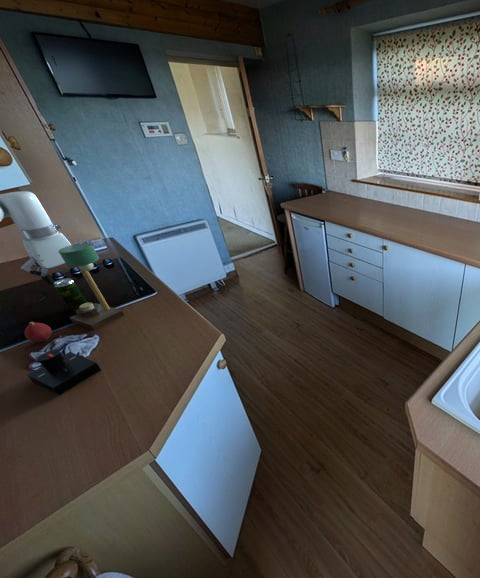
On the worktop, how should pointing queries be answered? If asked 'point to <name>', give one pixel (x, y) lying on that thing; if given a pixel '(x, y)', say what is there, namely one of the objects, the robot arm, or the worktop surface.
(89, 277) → the lamp
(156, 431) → the worktop surface
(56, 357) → the dimmer knob
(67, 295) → the beer can
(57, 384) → the dimmer
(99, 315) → the lamp base
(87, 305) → the lamp switch
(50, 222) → the robot arm
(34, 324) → the onion
